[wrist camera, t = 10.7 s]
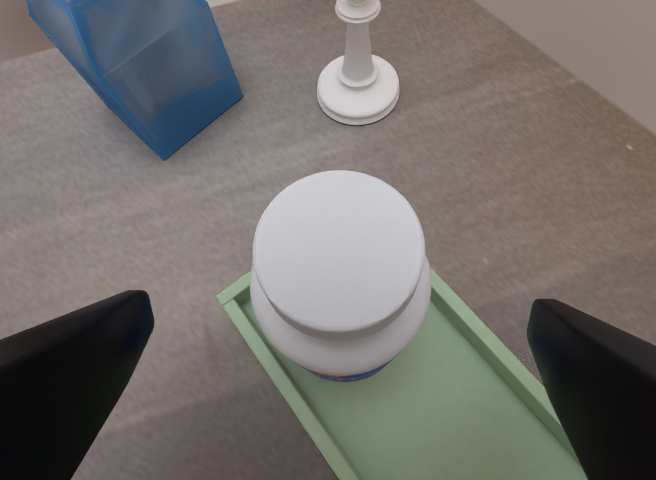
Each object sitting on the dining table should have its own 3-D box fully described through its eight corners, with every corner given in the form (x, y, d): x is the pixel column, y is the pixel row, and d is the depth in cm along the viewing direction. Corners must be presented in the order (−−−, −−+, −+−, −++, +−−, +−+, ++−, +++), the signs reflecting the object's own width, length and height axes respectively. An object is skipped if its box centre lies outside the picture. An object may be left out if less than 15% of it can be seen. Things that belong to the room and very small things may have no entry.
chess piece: (382, 135, 22) (399, -51, 13) (303, 111, 23) (268, -77, 14) (410, 72, 24) (444, -134, 15) (336, 52, 25) (323, -152, 16)
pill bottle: (289, 390, 17) (212, 382, 8) (282, 272, 19) (213, 158, 10) (415, 375, 17) (483, 351, 8) (394, 258, 19) (428, 131, 10)
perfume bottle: (182, 48, 26) (52, -214, 15) (243, 96, 24) (145, -162, 13) (106, 104, 25) (-102, -137, 13) (163, 160, 23) (-23, -67, 12)
